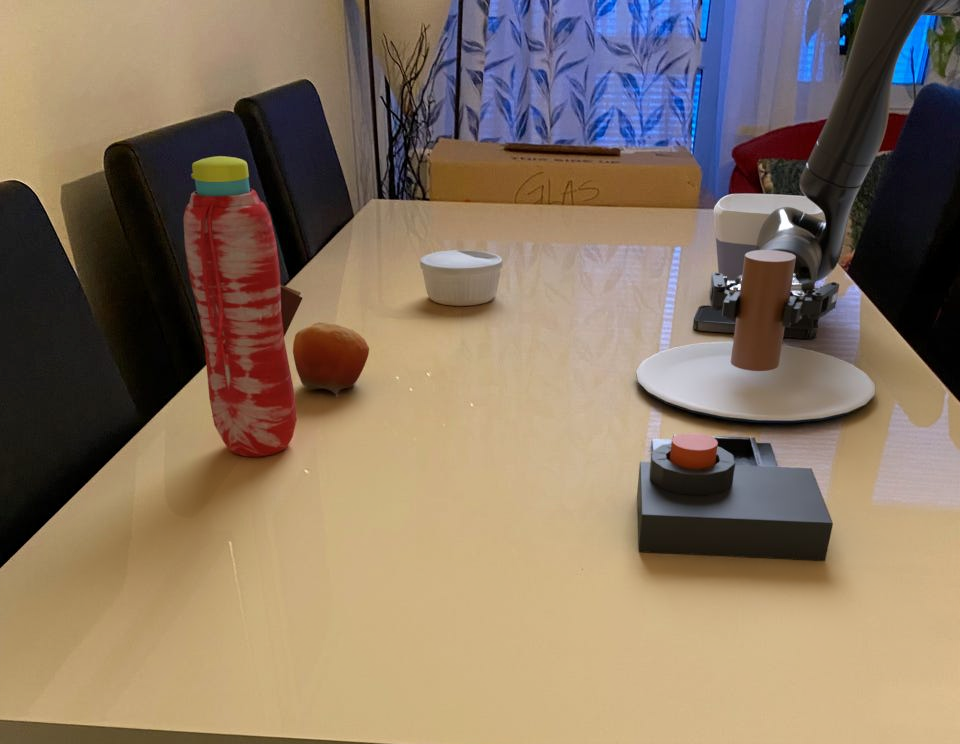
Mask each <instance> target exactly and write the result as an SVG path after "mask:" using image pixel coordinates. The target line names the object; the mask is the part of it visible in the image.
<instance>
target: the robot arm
mask: <svg viewBox="0 0 960 744" xmlns="http://www.w3.org/2000/svg"><path fill="white" fill-rule="evenodd" d="M922 16H935V17H936V16H937V17H946V18H947V17H950V18H960V0H866V1H865V4H864V6H863V10H862V14H861V17H860V20H859V23H858V27H857V30H856V33H855V37H854V38H853V39H854V40H853V43H852V46H851V50H850V52H849V56H848V59H847V62H846V65H845V68H844V69H845V70H844V73H843V76H842V78H841V82H840V85H839V88H838V89H837V90H838V91H837V93H836V96H835V99H834V101H833V104H832V106H831V110H830V112H829V114H828V116H827V119H826V121H825V123H824V125H823V128H822V130H821V132H820V134H819V136H818V138H817V140H816V142H815V145H814V147H813V148H812V151H811V153H810V155H809V158H808V160H807V162H806V164H805V166H804V168H803V171H802V173H801V175H800V178H799V182H798V183H799V189H800V192H801V193H802V194H803V196H806V197H807V198H808V199H809V200H811V201H812V202H813V203H814V204H816V205H817V206H818V207H819V208H820V209H821V210H822V211H823V213H824V215H825V220H826V221H823V220H821V219H819V218H816V217H814V216H812V215H809V214H807V213H804V214H803V212H802V211H800V210H797V209H795V208H791V207H781V208H778V209H776V210H775V211H773V212H772V213H771V214H770V215H769V216H768V217H767V219H766V220H765V222H764V223H763V225H762V228H761V230H760V232H759V235H758V240H757V247H756V250H776V251H783V252H788V253H791V254H793V255H795V256H796V261H795V267H794V274H793V280H792V286H791V292H790V298H789V300H788V302H787V304H786V306H785V312H784V318H783V324H782V326H783V327H790V325H791V323H797V322H798V321H799V319H801V318H802V315H805V314H809V315H808V318H810V319H812V320H816V319H819V320H820V319H821V318H823V317H824V316H826V315H827V314H829V313H830V312H831V311H833V310H834V309H835V308H836V306H837V299H838V295H839V291H840V290H839V289H840V283H838V282H836V281H832V282H831V281H830V282H827V283H826V284H820V287H816V286H815V285H816V283H817V282H819V281H822V280H823V279H825V278H827V277H828V276H829V275H830V274H831V273H832V272H833V271H834V270H835V269H836V267H837V265H838V263H839V260H840V258H841V254H842V252H843V251H842V250H843V247H844V241H845V235H846V231H847V226H848V222H849V218H850V214H851V210H852V207H853V205H854V202H855V199H856V198H857V195H858V193H859V191H860V189H861V187H862V185H863V183H864V180H865V179H866V177H867V175H868V173H869V171H870V170H871V167H872V166H873V163H874V161H875V159H876V157H877V155H878V153H879V151H880V149H881V146H882V143H883V142H884V141H883V140H884V138H885V135H886V131H887V128H888V121H889V114H890V102H891V91H892V83H893V78H894V73H895V69H896V66H897V63H898V60H899V58H900V55H901V52H902V50H903V49H904V46H905V44H906V42H907V40H908V38H909V37H910V35H911V33H912V32H913V30H914V28H915V26H916V25H917V24H918V22H919V20H920V19H921V17H922ZM727 279H728V277H726V276H724V277H723V274H721V273H719V272H718V271H715V272H713V273H711V279H710V287H709V297H708V298H709V303H710V304H709V305H711V309H713V310H716V311H718V310H722V316H727V321H732V322H734V320H735V319H736V317H737V310H738V303H739V295H740V288H741V280H742V275H740V276H738V277H737V278H736V280H735V281H727Z"/></svg>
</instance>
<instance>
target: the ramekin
mask: <svg viewBox="0 0 960 744" xmlns="http://www.w3.org/2000/svg"><path fill="white" fill-rule="evenodd" d="M419 260H420V261H419V266H420V269H421V270H422V275H423V281H424V285H425V291H426V294H427V296H428V297H429V298H430V299H431V300H432V301H433V302H434V303H437V304H440V305H445V306H456V307H467V306H468V307H469V306H478V305H482V304H486V303H489V302H490V301H492V300H493V299H494V297H496V295H497V293H498V287H499V282H500V276H501V269H502V268H503V263H504V261H503V258H502V257H501V256H499V255H497V254H495V253H492V252H489V251H481V250H471V249H454V250H453V249H452V250H451V249H450V250H440V251H436V252H431V253H428V254H426V255H423V256H422V257H421V258H420V259H419Z"/></svg>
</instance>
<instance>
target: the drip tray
mask: <svg viewBox="0 0 960 744" xmlns="http://www.w3.org/2000/svg"><path fill="white" fill-rule="evenodd" d="M676 435H677V434H673V435H672V438H673V437H674V436H676ZM710 436H711V437H713V438H715V439H716V440H717V442H718V447H721V448H723V449H724V450H726V451H728V452H729V453H731V454H733V456H734V460H735V465H740V466H766V467H779V465H778V462H777V459H776V456H775V453H774V449H773V447H772V443H771V442H757V440H756V437H752V436H751V437H748V436H722V435H721V436H720V435H719V436H718V435H710ZM672 438H671V439H667V438H651V444H650V445H651V452H652V451H654V450H655V449H657V448H658V447H660V446H661V445H665V444H670V443H671V442H672Z"/></svg>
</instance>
